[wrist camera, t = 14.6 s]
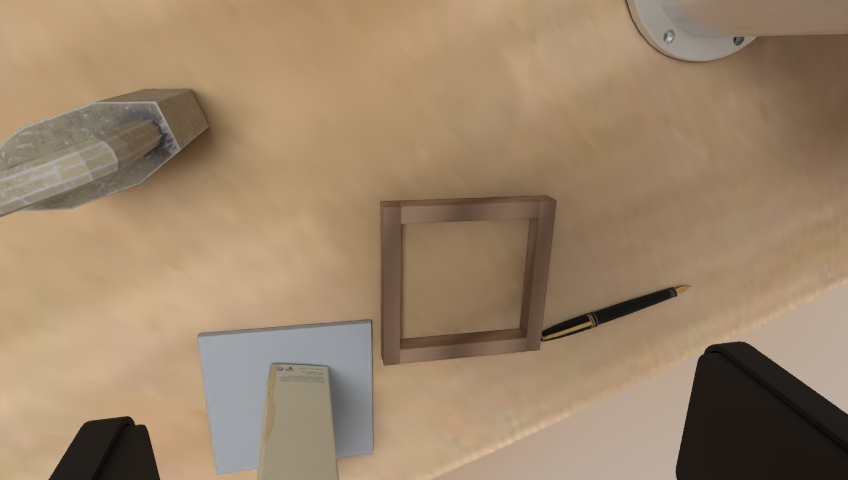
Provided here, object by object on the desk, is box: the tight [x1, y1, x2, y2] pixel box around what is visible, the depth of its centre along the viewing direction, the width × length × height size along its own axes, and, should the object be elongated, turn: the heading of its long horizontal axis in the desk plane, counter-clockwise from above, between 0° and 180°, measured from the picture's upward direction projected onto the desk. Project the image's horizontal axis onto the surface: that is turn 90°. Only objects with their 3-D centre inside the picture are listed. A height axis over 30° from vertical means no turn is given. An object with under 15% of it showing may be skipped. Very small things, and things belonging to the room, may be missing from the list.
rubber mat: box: [198, 320, 373, 474], centre depth 40 cm, size 12×12×1 cm
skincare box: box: [257, 364, 339, 480], centre depth 34 cm, size 6×4×12 cm
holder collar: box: [380, 196, 556, 365], centre depth 39 cm, size 12×12×2 cm
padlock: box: [0, 89, 209, 217], centre depth 25 cm, size 4×8×15 cm, turn 108°
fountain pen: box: [541, 286, 692, 342], centre depth 43 cm, size 14×1×2 cm, turn 104°
